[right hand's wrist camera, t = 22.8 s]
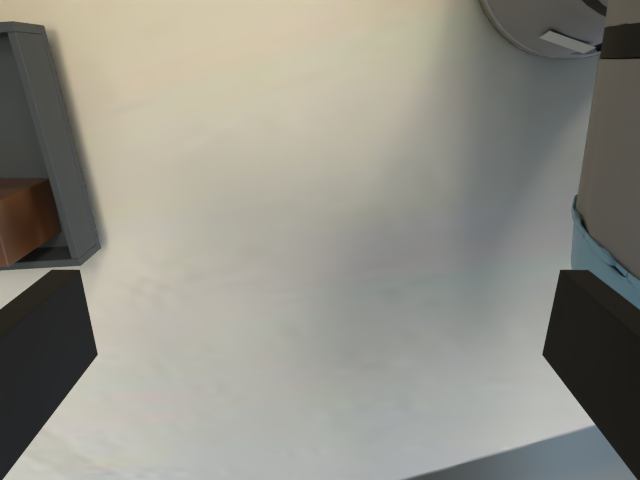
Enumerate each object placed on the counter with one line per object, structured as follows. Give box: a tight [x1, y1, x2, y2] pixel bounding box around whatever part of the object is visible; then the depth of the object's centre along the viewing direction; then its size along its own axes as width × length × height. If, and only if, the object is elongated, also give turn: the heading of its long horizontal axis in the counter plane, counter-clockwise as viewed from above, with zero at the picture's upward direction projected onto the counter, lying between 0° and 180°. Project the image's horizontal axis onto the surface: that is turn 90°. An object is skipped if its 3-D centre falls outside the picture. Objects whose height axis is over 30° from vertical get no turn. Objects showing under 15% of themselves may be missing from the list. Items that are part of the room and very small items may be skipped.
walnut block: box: [0, 178, 61, 267], centre depth 33 cm, size 4×4×7 cm
